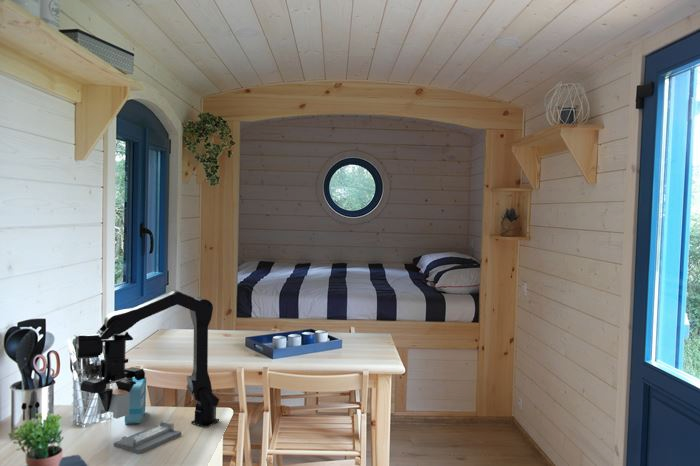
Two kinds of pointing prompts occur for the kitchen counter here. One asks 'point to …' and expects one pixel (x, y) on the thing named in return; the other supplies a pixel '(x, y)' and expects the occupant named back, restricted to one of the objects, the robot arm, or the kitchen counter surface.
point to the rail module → (116, 403)
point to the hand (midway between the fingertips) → (113, 408)
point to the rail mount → (148, 438)
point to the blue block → (137, 402)
